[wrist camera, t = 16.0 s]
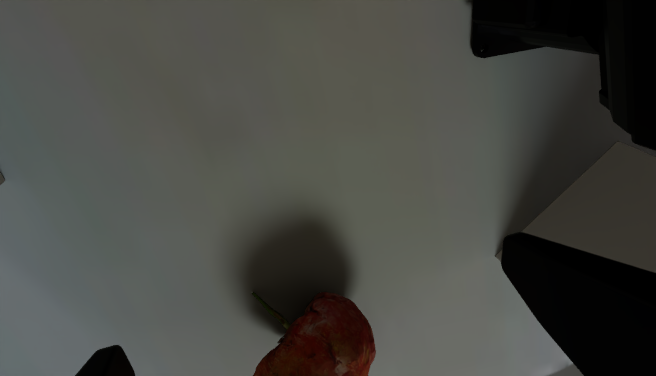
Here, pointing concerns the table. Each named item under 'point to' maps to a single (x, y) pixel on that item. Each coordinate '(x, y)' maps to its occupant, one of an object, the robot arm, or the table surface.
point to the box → (1, 179)
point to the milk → (607, 210)
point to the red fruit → (322, 341)
